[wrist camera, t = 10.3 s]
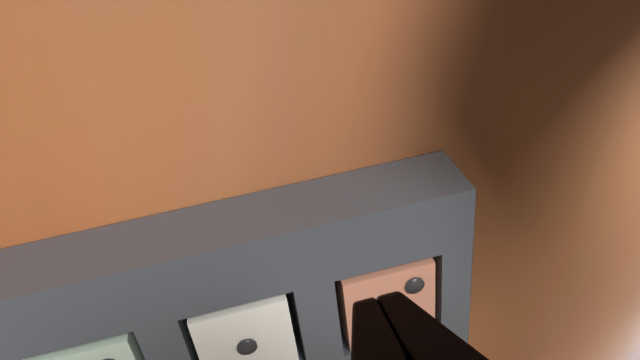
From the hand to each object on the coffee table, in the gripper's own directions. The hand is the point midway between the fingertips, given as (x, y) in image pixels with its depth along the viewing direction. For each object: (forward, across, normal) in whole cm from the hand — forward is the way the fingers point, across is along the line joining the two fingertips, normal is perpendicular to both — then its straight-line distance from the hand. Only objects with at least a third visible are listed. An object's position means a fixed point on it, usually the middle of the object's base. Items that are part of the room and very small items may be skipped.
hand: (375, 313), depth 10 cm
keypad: (+12, +3, +10) cm, 16 cm away
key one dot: (+11, +3, +10) cm, 15 cm away
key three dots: (+11, -3, +10) cm, 15 cm away
